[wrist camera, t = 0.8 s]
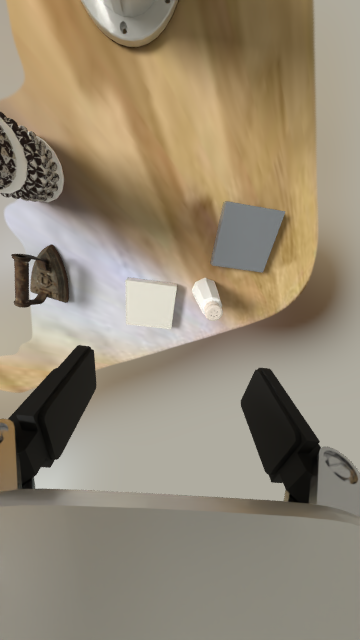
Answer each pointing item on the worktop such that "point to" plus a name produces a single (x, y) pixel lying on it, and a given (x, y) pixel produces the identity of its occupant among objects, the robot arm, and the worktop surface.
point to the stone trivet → (150, 303)
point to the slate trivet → (245, 236)
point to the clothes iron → (40, 278)
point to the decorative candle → (27, 164)
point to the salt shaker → (208, 298)
